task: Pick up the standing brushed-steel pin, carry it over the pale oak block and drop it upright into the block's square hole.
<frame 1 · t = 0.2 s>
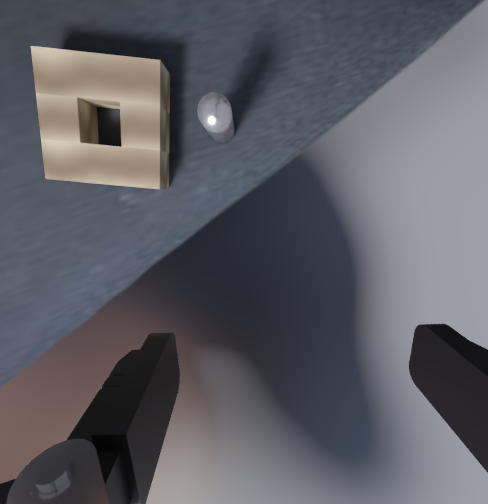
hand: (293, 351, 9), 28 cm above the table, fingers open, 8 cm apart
steel pin: (222, 130, 33), on the table
oak hole block: (116, 128, 33), on the table
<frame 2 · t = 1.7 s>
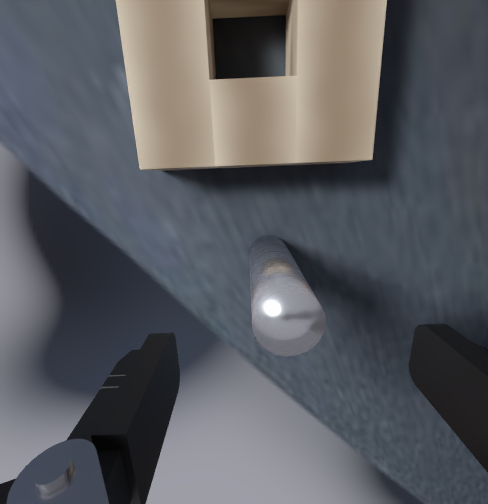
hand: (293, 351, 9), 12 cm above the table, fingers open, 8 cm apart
steel pin: (268, 254, 20), on the table
oak hole block: (250, 59, 17), on the table
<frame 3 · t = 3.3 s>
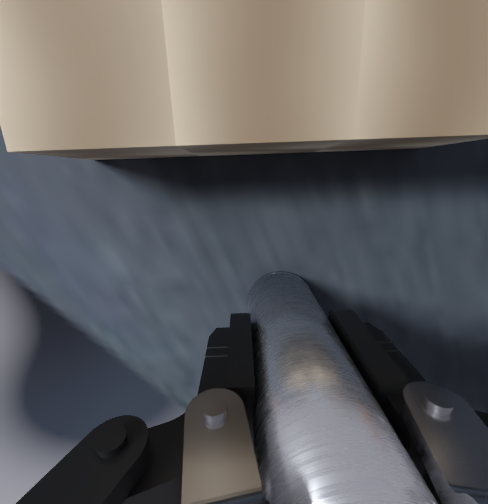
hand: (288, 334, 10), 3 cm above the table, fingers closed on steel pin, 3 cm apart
steel pin: (279, 301, 12), on the table, touching gripper
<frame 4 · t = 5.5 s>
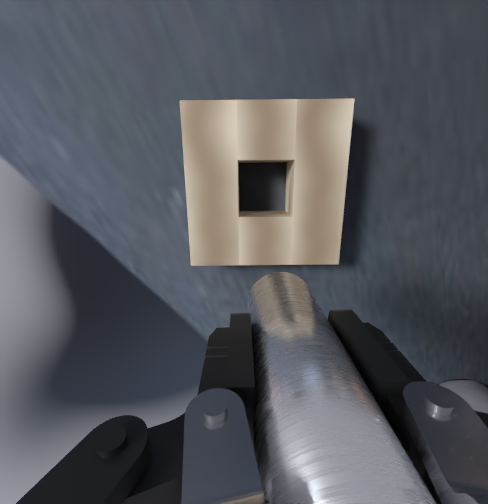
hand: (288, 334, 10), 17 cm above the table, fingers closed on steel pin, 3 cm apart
steel pin: (279, 302, 12), point 15 cm above the table, touching gripper
pillar candle: (452, 407, 33), on the table
oak hole block: (262, 187, 25), on the table
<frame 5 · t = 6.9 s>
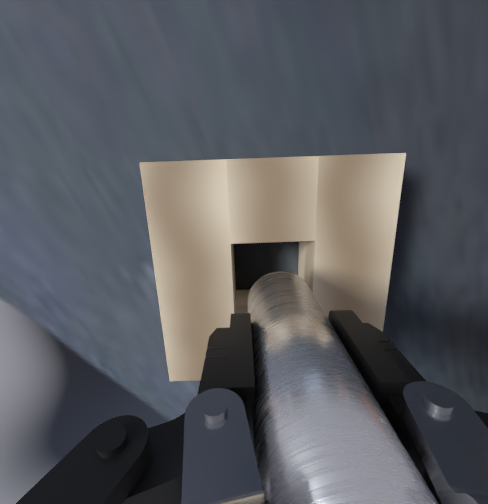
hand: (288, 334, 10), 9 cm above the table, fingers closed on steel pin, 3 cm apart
steel pin: (279, 301, 12), point 6 cm above the table, touching gripper
oak hole block: (266, 259, 19), on the table
when the fingers open (5 cm above the table, at t = 8.1 s): steel pin drops 2 cm, resting in oak hole block.
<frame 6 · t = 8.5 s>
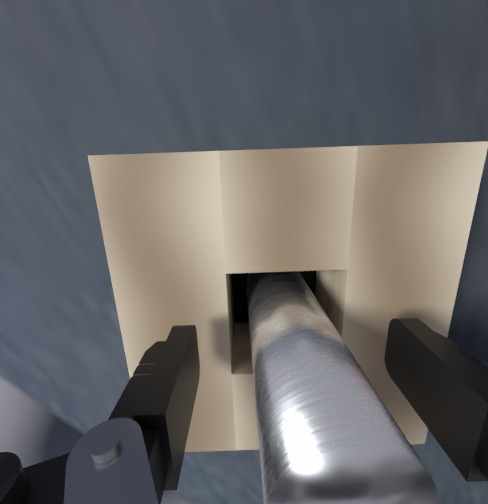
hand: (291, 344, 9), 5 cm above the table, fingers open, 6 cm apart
steel pin: (273, 284, 14), resting in oak hole block
oak hole block: (273, 284, 14), on the table
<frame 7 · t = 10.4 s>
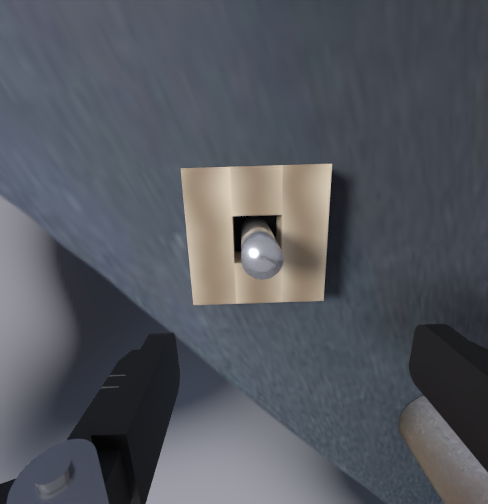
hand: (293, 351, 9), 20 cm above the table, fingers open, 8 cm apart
steel pin: (255, 230, 28), resting in oak hole block
pillar candle: (432, 416, 36), on the table
oak hole block: (255, 230, 28), on the table
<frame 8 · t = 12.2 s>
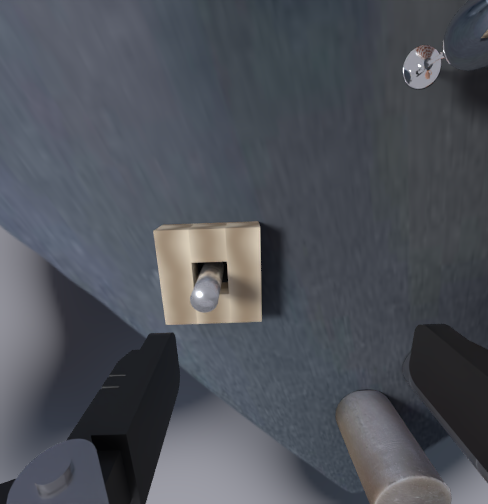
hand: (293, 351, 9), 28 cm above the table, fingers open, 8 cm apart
steel pin: (213, 268, 38), resting in oak hole block
pillar candle: (362, 409, 46), on the table
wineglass: (420, 68, 31), on the table
oak hole block: (213, 268, 38), on the table
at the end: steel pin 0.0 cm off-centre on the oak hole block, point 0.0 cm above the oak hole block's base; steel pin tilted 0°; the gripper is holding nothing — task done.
